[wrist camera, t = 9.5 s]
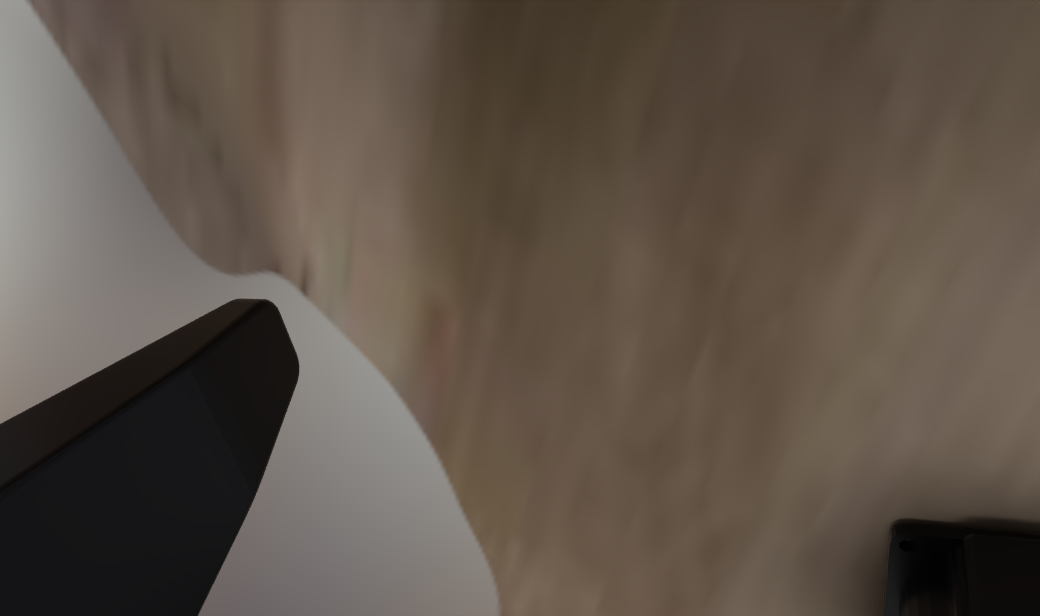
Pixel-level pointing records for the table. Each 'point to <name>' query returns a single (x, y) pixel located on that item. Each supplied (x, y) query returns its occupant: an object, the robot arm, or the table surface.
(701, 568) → the table surface
